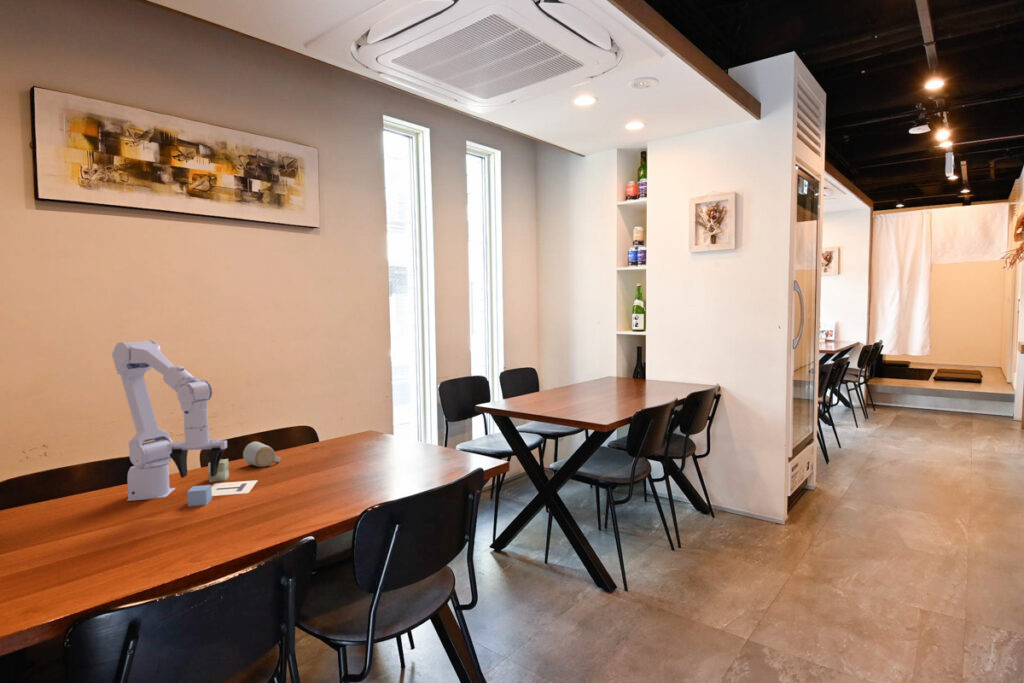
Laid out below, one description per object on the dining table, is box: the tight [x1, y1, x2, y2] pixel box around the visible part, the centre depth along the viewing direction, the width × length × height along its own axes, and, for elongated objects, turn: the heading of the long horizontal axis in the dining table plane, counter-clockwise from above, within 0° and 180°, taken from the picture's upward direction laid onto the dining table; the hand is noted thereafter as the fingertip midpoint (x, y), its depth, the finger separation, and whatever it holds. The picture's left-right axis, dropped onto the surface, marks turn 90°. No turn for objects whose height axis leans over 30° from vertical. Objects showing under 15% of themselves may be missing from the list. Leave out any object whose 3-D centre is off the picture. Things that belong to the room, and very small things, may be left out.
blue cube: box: [186, 484, 213, 507], centre depth 151 cm, size 4×4×4 cm
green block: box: [207, 458, 230, 483], centre depth 171 cm, size 4×4×6 cm
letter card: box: [211, 479, 259, 497], centre depth 163 cm, size 12×12×1 cm
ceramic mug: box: [242, 441, 281, 468], centre depth 188 cm, size 11×8×8 cm
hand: (199, 475), depth 150 cm, fingers open, 7 cm apart
